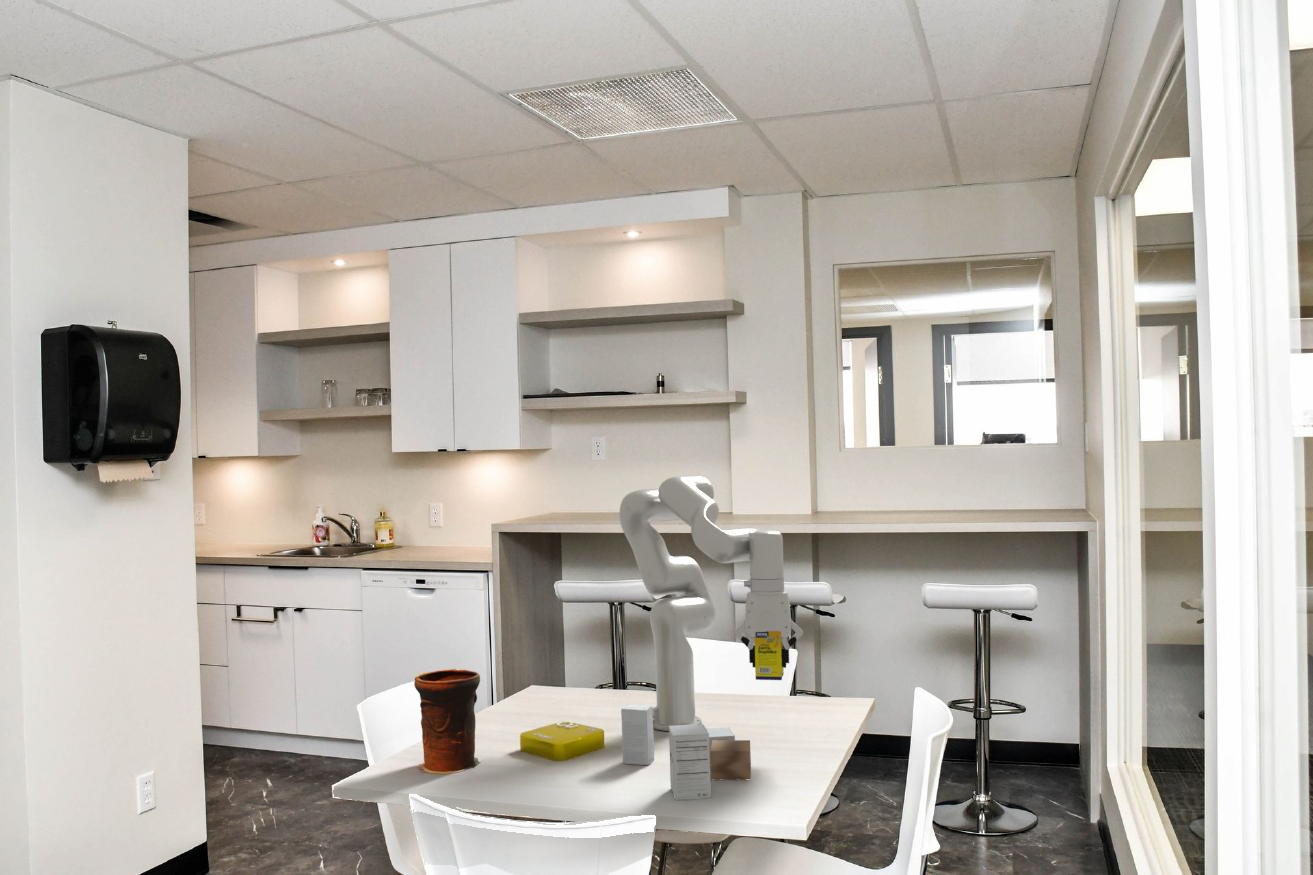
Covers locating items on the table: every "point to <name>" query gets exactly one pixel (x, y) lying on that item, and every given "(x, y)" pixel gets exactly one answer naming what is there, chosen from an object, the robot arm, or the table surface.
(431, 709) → the vessel
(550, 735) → the element tile
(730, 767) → the walnut block
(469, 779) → the table surface
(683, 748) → the supplement box
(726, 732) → the grey block
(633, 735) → the skincare box
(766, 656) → the supplement box
